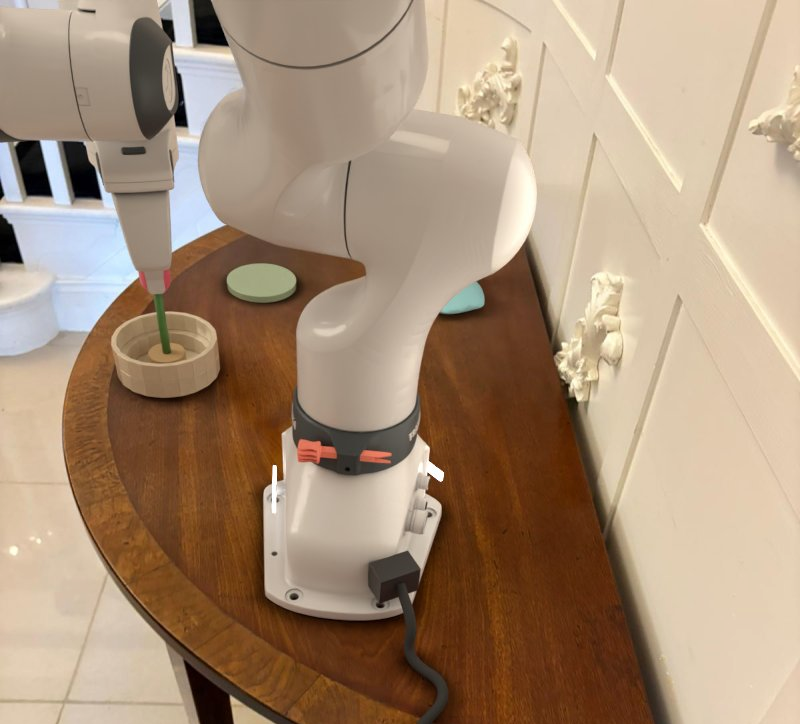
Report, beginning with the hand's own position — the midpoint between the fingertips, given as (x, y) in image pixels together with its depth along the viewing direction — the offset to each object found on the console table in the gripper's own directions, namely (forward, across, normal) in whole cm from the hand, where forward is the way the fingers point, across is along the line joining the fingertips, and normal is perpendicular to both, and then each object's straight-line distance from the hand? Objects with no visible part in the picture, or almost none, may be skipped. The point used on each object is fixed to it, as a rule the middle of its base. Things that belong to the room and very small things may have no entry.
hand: (153, 270), depth 88 cm
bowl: (+14, 0, 0) cm, 14 cm away
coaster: (+14, -20, +15) cm, 28 cm away
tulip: (+13, 0, 0) cm, 13 cm away
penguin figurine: (+14, -15, +41) cm, 46 cm away
